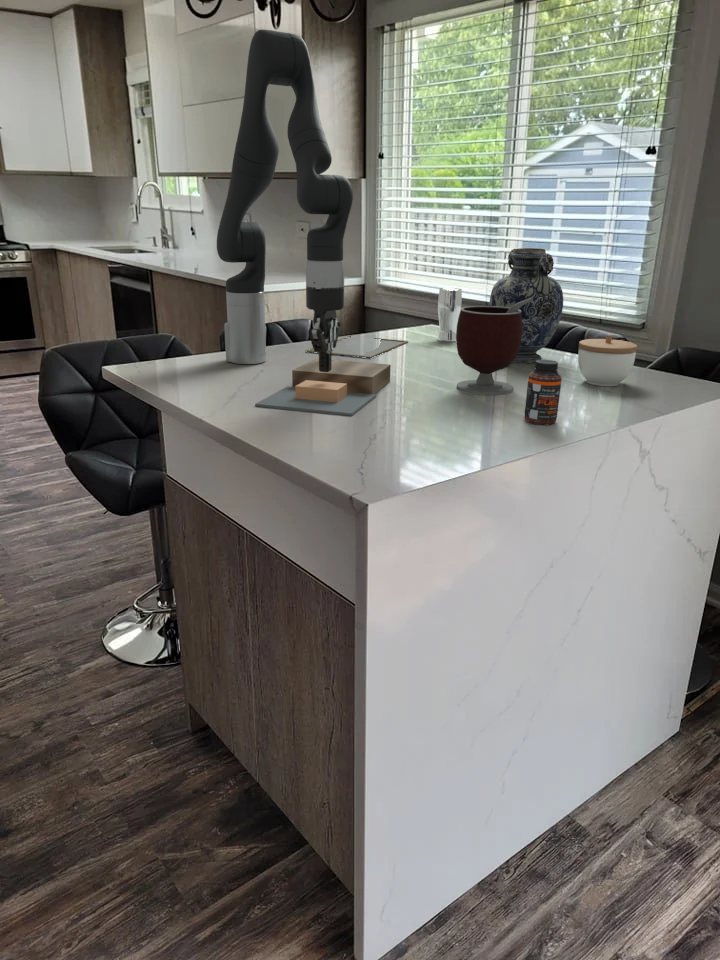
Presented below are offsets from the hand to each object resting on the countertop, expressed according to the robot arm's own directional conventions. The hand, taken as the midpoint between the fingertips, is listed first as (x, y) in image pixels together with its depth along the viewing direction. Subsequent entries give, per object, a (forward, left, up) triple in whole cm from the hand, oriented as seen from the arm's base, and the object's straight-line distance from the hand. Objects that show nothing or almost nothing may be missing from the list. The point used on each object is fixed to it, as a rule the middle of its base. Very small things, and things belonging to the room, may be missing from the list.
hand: (325, 371), depth 150 cm
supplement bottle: (+44, -4, -6) cm, 44 cm away
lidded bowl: (+55, +36, -6) cm, 66 cm away
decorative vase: (+34, +58, -6) cm, 67 cm away
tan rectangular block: (0, -3, -4) cm, 4 cm away
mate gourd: (+31, +20, -6) cm, 37 cm away
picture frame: (-11, +58, -6) cm, 59 cm away
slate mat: (0, -4, -5) cm, 7 cm away
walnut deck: (0, +11, -5) cm, 12 cm away
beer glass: (+10, +80, -6) cm, 80 cm away
